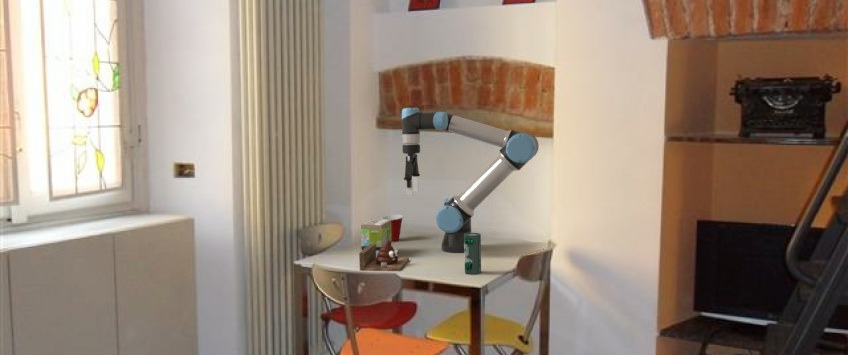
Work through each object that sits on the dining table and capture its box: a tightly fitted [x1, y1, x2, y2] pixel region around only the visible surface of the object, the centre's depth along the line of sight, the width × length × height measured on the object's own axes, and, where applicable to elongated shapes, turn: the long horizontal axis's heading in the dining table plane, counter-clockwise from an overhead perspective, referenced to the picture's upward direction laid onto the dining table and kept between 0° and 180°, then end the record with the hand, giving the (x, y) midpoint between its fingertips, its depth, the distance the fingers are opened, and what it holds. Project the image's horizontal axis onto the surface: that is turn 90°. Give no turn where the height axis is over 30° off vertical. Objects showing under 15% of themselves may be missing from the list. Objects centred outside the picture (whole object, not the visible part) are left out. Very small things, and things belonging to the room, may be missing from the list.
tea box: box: [360, 219, 393, 258], centre depth 323 cm, size 15×10×15 cm, turn 168°
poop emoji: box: [376, 240, 400, 265], centre depth 303 cm, size 10×8×9 cm
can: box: [463, 232, 482, 275], centre depth 285 cm, size 6×6×15 cm
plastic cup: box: [380, 214, 404, 243], centre depth 356 cm, size 11×11×12 cm
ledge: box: [358, 243, 410, 272], centre depth 303 cm, size 16×20×7 cm
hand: (412, 193), depth 321 cm, fingers open, 13 cm apart
